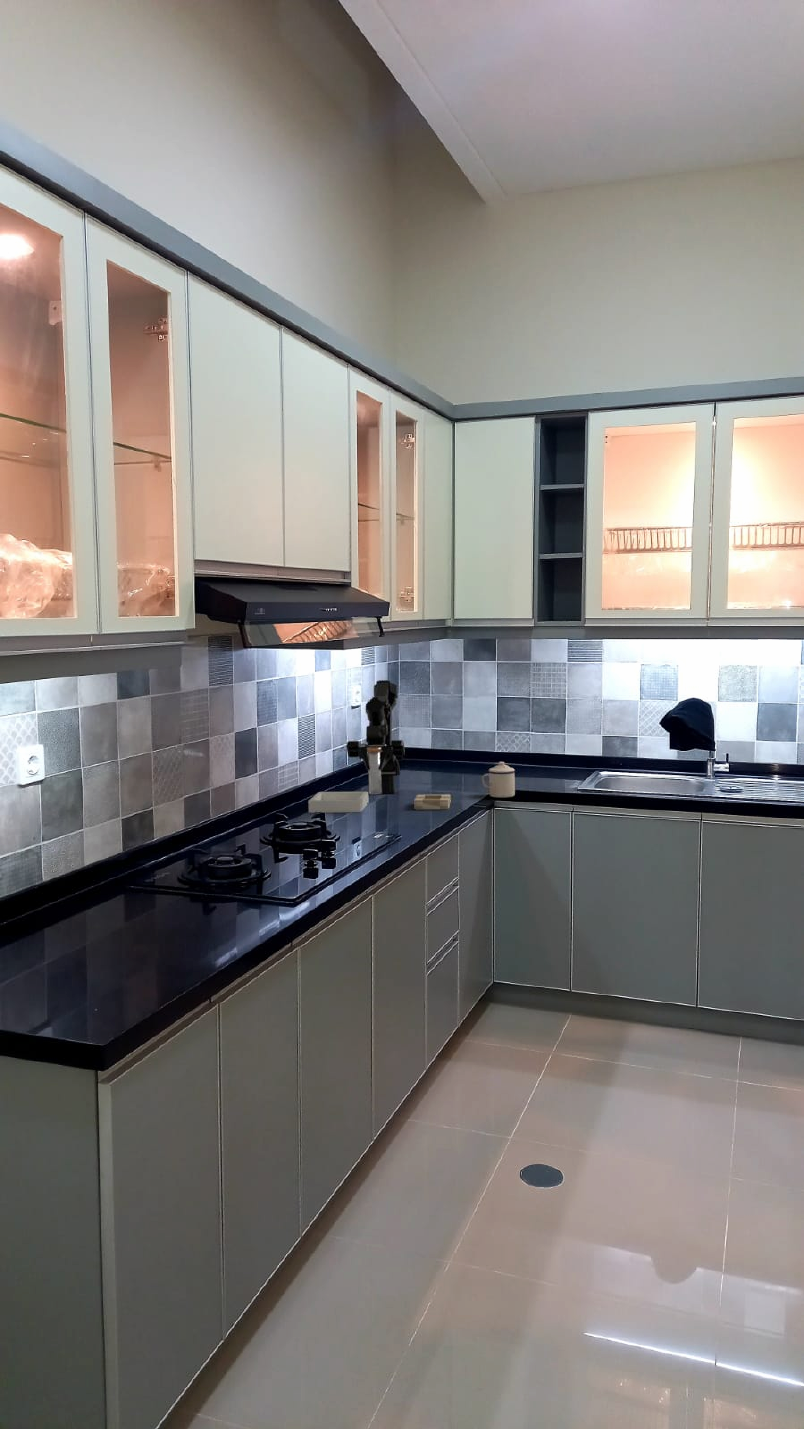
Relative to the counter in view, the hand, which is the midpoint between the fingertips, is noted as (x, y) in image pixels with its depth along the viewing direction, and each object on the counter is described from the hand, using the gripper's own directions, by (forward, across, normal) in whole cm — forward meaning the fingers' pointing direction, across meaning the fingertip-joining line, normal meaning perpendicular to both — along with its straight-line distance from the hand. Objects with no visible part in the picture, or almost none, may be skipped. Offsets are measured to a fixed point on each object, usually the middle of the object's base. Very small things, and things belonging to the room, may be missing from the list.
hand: (374, 769), depth 328 cm
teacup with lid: (-8, +40, +28) cm, 49 cm away
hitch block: (+5, +18, +14) cm, 24 cm away
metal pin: (+5, 0, +7) cm, 8 cm away
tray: (+6, -13, +14) cm, 19 cm away
